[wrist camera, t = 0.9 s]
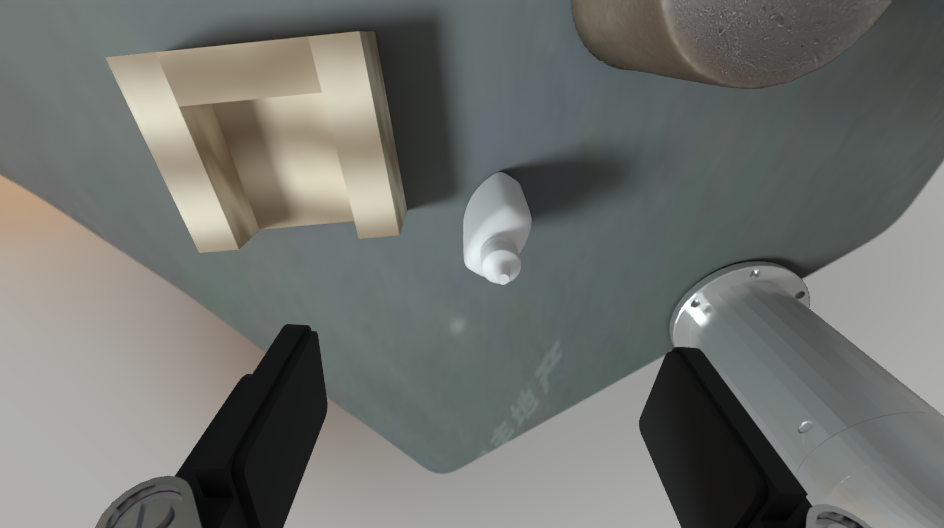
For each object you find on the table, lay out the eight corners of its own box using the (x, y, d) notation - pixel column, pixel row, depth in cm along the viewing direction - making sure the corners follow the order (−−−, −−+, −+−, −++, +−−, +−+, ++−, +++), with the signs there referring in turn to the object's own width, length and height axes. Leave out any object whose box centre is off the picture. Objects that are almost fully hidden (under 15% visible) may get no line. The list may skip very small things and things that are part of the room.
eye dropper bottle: (532, 209, 34) (563, 287, 23) (473, 238, 35) (477, 324, 25) (510, 164, 32) (533, 227, 22) (448, 196, 33) (441, 270, 23)
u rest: (407, 210, 34) (399, 235, 30) (230, 226, 34) (199, 252, 30) (374, 31, 27) (359, 31, 23) (158, 53, 28) (105, 57, 24)
